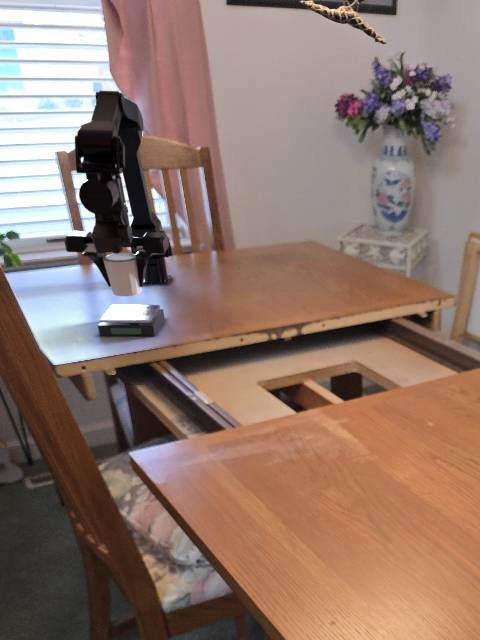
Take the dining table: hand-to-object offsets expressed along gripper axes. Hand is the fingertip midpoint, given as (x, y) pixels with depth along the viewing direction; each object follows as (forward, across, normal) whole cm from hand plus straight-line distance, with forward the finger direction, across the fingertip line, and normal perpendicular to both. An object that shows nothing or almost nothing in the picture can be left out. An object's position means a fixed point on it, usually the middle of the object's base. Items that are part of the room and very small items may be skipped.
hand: (126, 286), depth 145 cm
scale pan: (+6, 0, 0) cm, 6 cm away
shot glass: (+1, 0, 0) cm, 1 cm away
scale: (+8, 0, 0) cm, 9 cm away
